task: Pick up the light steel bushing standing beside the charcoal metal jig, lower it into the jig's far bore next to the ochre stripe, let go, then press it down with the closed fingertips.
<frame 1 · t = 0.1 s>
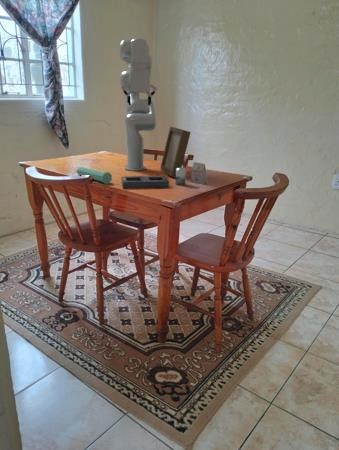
hand: (139, 105, 176), 37 cm above the table, tool pointing down, fingers open, 9 cm apart
photo frame: (177, 173, 202), on the table
jig: (144, 184, 174), on the table
container: (97, 173, 183), point 3 cm above the table
bushing: (180, 184, 177), on the table
grey upright block: (198, 182, 182), on the table
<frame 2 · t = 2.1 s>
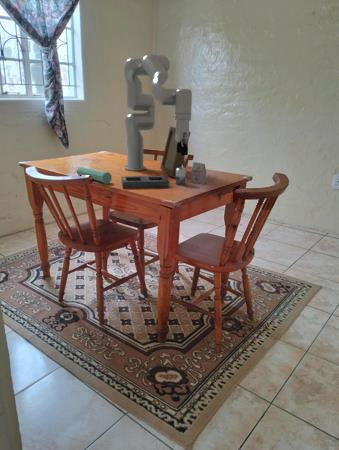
hand: (182, 153, 171), 15 cm above the table, tool pointing down, fingers open, 9 cm apart
nothing on the table moved.
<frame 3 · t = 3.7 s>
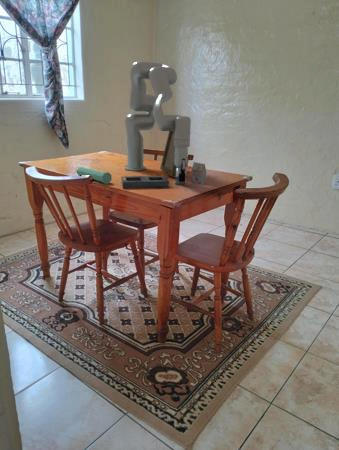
hand: (180, 179, 176), 2 cm above the table, tool pointing down, fingers closed on bushing, 5 cm apart
bushing: (180, 184, 177), on the table, touching gripper
everything else where it was.
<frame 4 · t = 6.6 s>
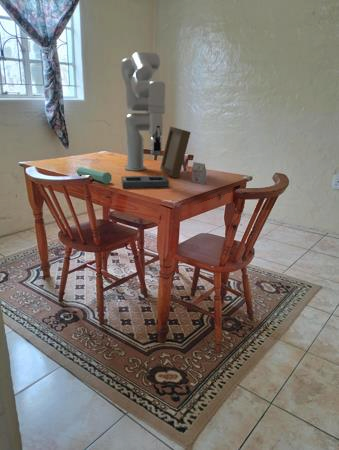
hand: (156, 149, 169), 17 cm above the table, tool pointing down, fingers closed on bushing, 5 cm apart
bushing: (156, 154, 170), point 15 cm above the table, touching gripper
everything else where it was.
when the fingers open (4 cm above the table, at t = 9.8 s): bushing drops 1 cm, resting in jig.
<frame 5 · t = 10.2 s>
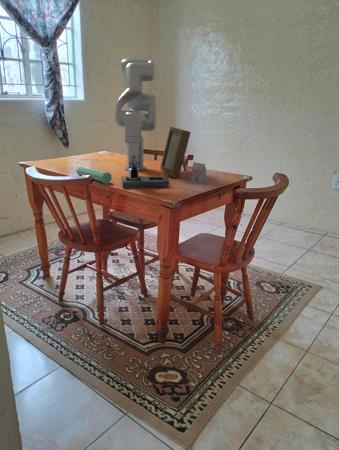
hand: (133, 175, 171), 5 cm above the table, tool pointing down, fingers open, 9 cm apart
bushing: (133, 185, 173), resting in jig
everything else where it was.
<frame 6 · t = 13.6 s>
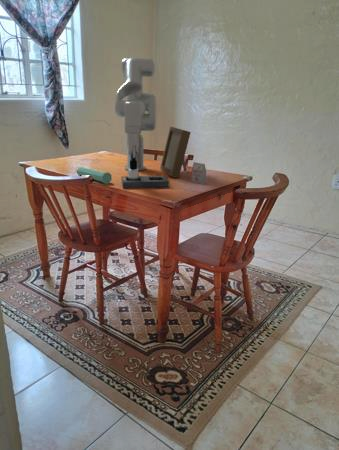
hand: (133, 168, 170), 8 cm above the table, tool pointing down, fingers closed
bushing: (133, 185, 173), resting in jig, touching gripper
everything else where it was.
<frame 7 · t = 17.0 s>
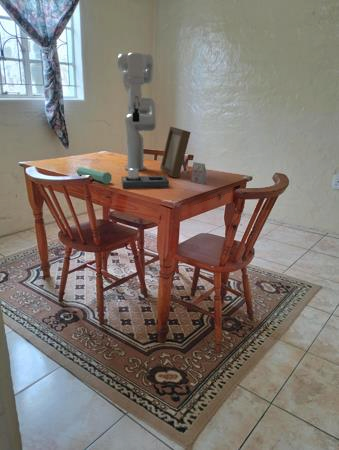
hand: (135, 121, 174), 29 cm above the table, tool pointing down, fingers closed
bushing: (133, 185, 173), resting in jig
everything else where it was.
at the end: bushing 0.0 cm from the target spot on the jig, point 0.0 cm above the jig's base; bushing tilted 1°; the gripper is holding nothing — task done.
